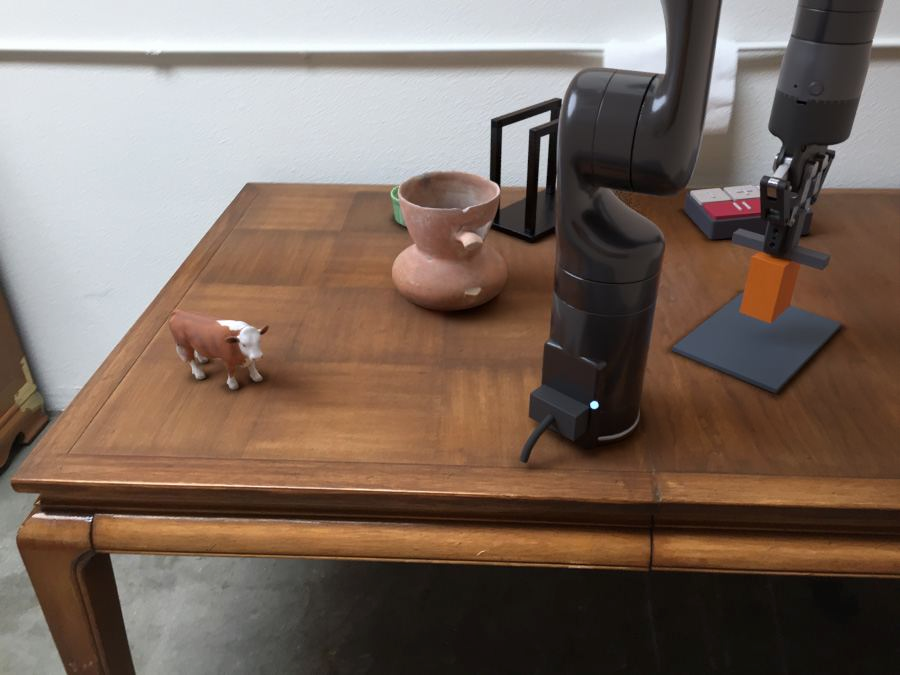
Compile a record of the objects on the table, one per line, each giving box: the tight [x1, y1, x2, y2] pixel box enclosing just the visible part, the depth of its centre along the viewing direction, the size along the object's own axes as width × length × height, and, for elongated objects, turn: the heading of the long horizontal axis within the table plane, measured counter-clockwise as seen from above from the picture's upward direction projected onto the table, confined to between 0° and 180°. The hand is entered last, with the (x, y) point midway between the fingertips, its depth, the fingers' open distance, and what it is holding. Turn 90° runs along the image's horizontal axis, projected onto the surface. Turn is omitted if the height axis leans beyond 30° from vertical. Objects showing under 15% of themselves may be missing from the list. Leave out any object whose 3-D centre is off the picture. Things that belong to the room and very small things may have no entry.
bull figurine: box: [168, 308, 270, 391], centre depth 80 cm, size 4×13×8 cm, turn 58°
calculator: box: [683, 184, 814, 241], centre depth 115 cm, size 11×4×15 cm
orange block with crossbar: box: [731, 207, 831, 323], centre depth 83 cm, size 5×10×12 cm, turn 47°
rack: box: [489, 97, 563, 244], centre depth 114 cm, size 17×10×16 cm, turn 137°
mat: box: [671, 290, 843, 395], centre depth 88 cm, size 18×12×1 cm, turn 137°
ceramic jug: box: [391, 170, 508, 311], centre depth 95 cm, size 18×14×14 cm
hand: (778, 250), depth 83 cm, fingers closed on orange block with crossbar
